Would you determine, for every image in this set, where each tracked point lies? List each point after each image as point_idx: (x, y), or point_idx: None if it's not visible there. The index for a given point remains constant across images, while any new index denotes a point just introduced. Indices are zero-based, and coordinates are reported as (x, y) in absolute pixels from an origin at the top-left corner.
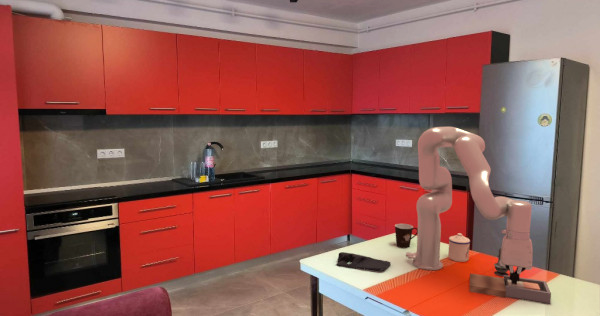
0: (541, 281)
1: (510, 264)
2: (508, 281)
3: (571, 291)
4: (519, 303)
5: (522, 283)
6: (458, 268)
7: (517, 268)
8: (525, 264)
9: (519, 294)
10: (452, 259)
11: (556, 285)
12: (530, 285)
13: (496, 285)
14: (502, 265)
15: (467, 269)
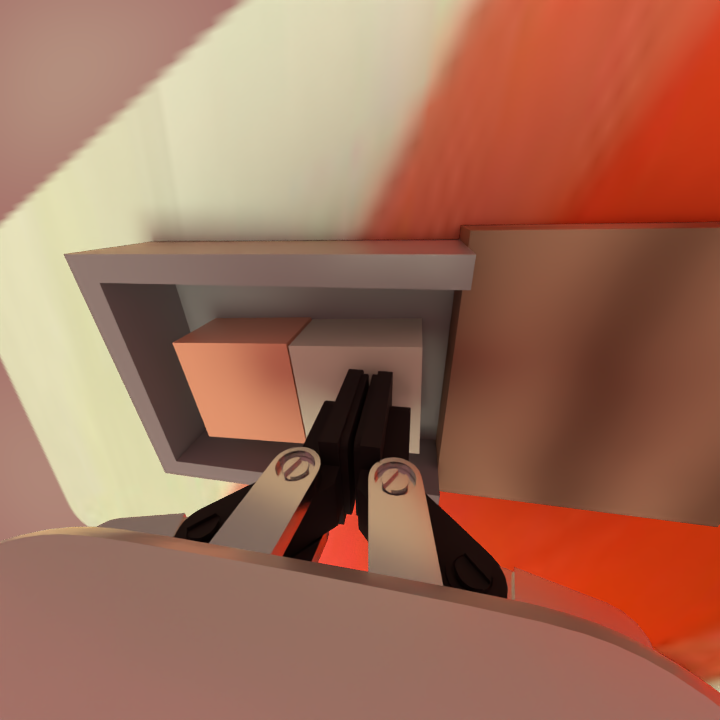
0: (186, 464)
1: (446, 628)
2: (415, 421)
3: (116, 453)
4: (352, 141)
5: (305, 413)
6: (679, 598)
7: (307, 550)
8: (9, 624)
9: (340, 244)
10: None
11: (180, 494)
12: (247, 393)
13: (540, 344)
14: (564, 602)
15: (615, 590)
